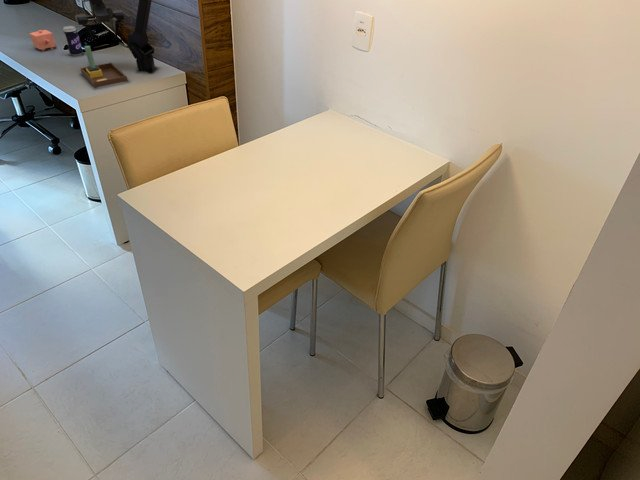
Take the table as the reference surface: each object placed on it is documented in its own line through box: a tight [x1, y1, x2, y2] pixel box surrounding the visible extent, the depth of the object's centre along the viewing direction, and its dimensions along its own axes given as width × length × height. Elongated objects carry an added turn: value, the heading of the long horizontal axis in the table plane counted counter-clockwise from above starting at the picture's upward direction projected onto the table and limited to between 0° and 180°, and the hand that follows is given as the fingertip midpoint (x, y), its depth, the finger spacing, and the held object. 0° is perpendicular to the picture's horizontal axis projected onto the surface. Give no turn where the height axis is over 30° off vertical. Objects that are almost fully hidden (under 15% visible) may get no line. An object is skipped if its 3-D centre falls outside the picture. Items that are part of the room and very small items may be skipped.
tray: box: [80, 62, 128, 88], centre depth 205 cm, size 19×13×3 cm
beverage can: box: [62, 25, 84, 57], centre depth 224 cm, size 6×6×12 cm
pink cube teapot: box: [29, 29, 57, 52], centre depth 230 cm, size 8×12×8 cm, turn 46°
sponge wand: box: [83, 45, 103, 78], centre depth 203 cm, size 5×6×12 cm
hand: (105, 38), depth 209 cm, fingers open, 9 cm apart
